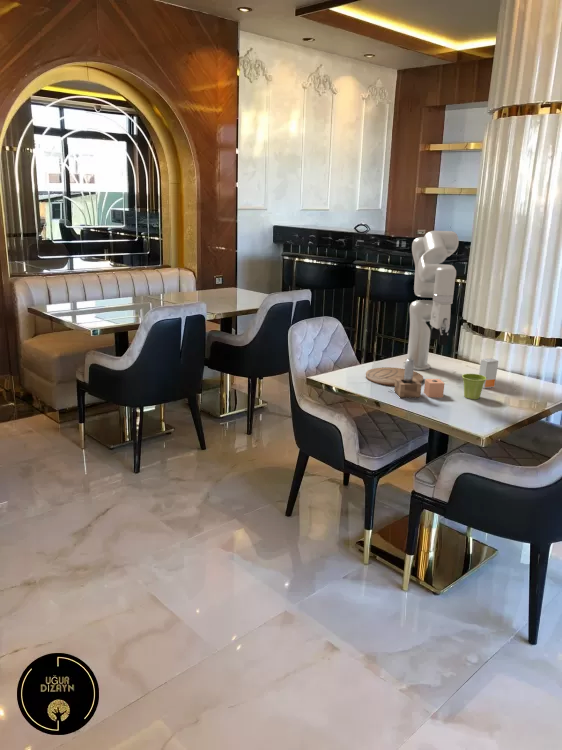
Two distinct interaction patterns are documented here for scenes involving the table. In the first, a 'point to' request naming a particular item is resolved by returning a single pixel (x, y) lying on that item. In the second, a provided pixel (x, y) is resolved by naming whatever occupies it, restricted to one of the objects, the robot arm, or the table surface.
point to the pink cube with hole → (434, 388)
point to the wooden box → (407, 388)
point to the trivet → (389, 375)
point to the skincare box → (489, 371)
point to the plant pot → (473, 385)
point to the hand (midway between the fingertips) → (438, 341)
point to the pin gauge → (409, 371)
